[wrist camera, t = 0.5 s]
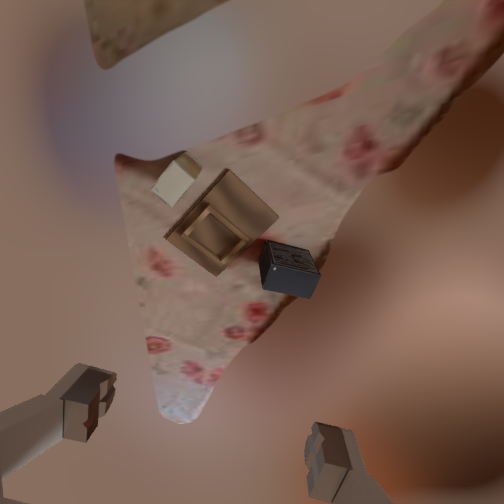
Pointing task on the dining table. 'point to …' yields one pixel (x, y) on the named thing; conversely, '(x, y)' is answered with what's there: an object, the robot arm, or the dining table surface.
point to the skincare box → (177, 179)
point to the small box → (288, 270)
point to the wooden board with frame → (223, 224)
